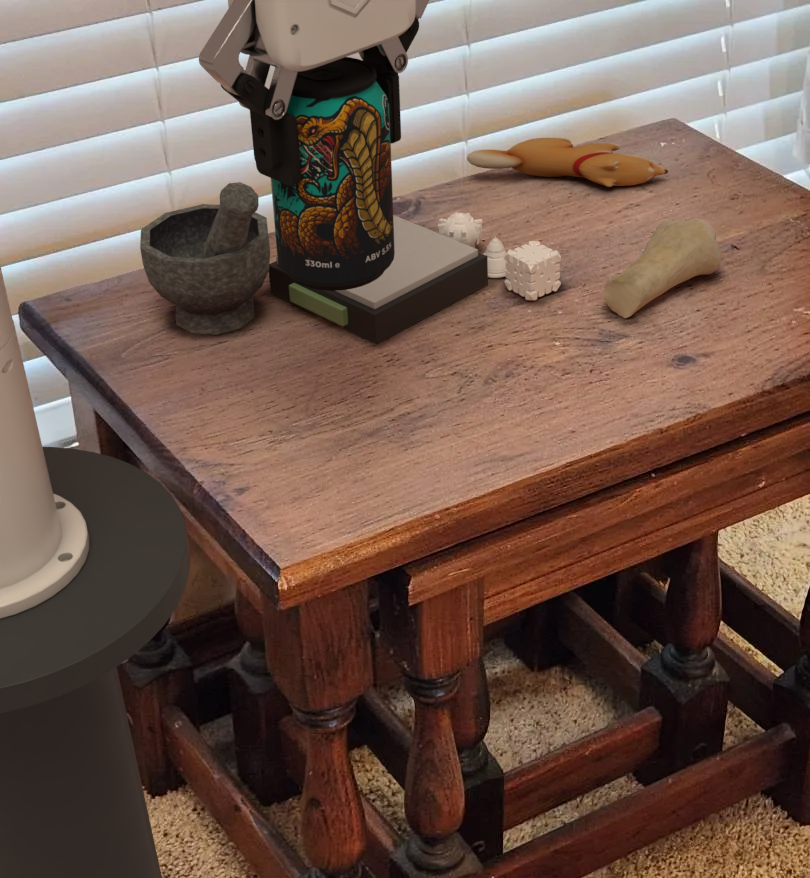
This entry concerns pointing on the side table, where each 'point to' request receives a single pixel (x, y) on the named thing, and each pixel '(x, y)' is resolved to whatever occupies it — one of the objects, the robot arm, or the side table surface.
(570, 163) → the toy
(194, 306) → the mortar and pestle
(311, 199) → the beverage can
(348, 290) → the scale
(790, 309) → the side table surface
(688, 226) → the tan bone
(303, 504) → the side table surface
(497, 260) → the game pieces
